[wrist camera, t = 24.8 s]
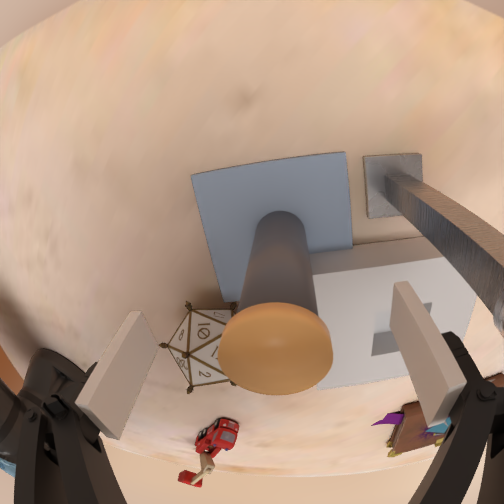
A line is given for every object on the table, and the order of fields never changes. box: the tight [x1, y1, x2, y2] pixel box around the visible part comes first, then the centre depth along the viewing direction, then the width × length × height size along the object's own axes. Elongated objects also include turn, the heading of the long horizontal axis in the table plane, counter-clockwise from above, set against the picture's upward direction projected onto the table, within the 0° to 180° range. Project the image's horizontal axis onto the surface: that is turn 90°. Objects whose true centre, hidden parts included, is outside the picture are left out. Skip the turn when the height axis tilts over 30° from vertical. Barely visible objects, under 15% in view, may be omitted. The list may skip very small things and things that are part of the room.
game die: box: [159, 301, 237, 394], centre depth 25 cm, size 9×8×10 cm
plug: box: [217, 211, 333, 395], centre depth 17 cm, size 5×5×14 cm
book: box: [371, 373, 504, 457], centre depth 34 cm, size 16×25×5 cm, turn 101°
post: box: [363, 153, 504, 316], centre depth 14 cm, size 5×5×16 cm
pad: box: [191, 152, 353, 302], centre depth 24 cm, size 12×12×1 cm
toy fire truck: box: [178, 419, 239, 487], centre depth 36 cm, size 3×14×10 cm, turn 148°
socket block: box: [309, 236, 477, 390], centre depth 24 cm, size 16×14×4 cm
